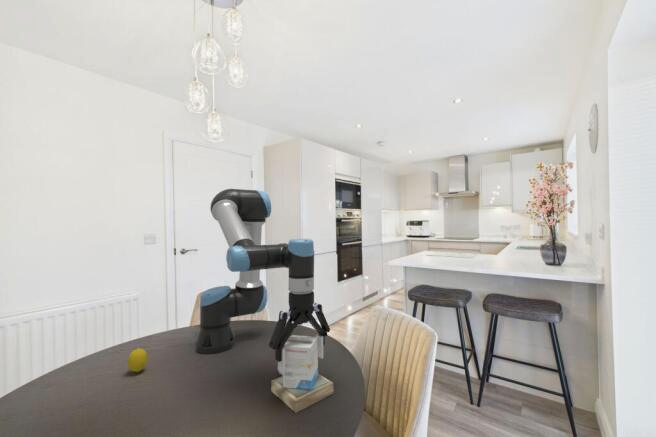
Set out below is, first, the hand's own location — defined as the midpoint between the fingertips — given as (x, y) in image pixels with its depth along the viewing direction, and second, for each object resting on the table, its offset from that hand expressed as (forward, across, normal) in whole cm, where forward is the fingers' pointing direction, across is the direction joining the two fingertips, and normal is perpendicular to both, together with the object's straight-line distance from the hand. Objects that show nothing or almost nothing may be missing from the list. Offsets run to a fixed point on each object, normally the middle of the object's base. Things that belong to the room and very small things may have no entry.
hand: (301, 364), depth 82 cm
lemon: (+8, -35, +46) cm, 58 cm away
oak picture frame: (+8, 0, 0) cm, 8 cm away
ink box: (+5, 0, 0) cm, 5 cm away
